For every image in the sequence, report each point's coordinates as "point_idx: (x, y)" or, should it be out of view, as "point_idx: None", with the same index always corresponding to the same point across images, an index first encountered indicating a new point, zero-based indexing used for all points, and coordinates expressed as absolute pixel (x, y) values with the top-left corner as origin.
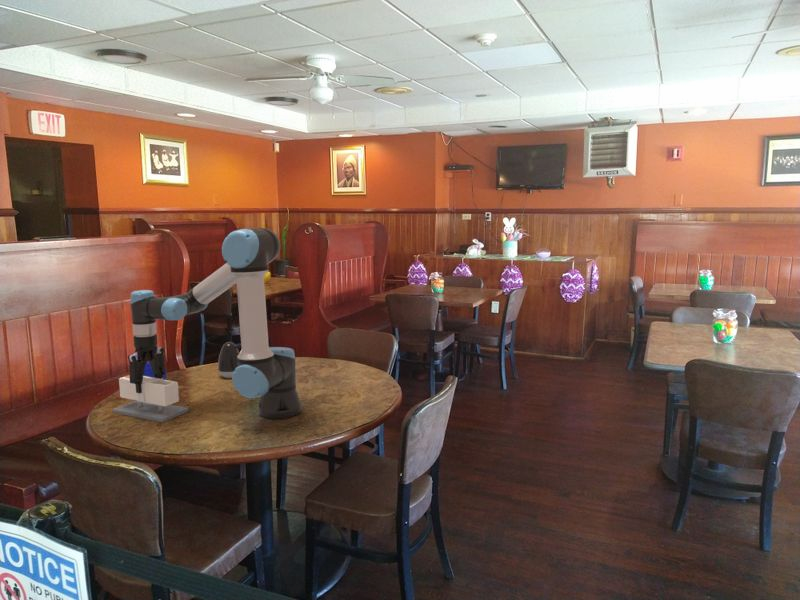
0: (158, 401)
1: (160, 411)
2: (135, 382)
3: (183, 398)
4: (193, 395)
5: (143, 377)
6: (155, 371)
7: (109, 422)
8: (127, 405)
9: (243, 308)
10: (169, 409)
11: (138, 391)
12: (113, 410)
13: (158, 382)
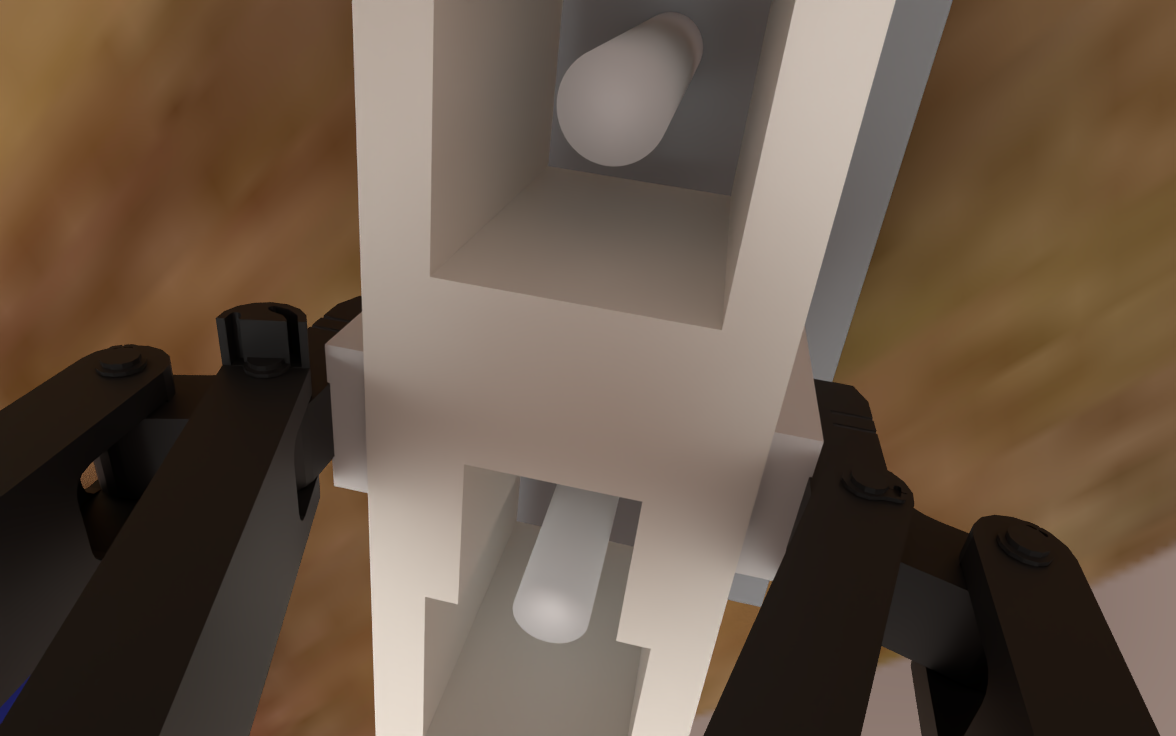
0: None
1: (701, 31)
2: (1053, 553)
3: (144, 170)
4: (16, 122)
5: (427, 650)
6: (278, 517)
7: (1055, 454)
8: (623, 543)
9: None
10: None
11: (868, 417)
12: (764, 589)
13: (466, 258)
